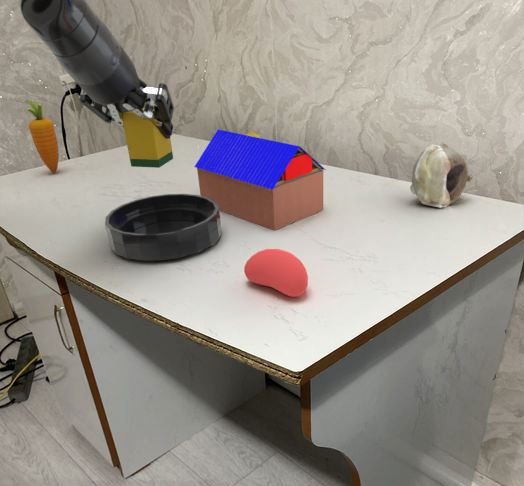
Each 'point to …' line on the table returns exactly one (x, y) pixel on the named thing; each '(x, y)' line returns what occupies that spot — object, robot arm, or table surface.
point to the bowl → (163, 226)
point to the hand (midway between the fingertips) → (153, 132)
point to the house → (260, 179)
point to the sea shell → (439, 176)
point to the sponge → (145, 142)
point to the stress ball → (277, 271)
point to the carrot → (44, 137)
